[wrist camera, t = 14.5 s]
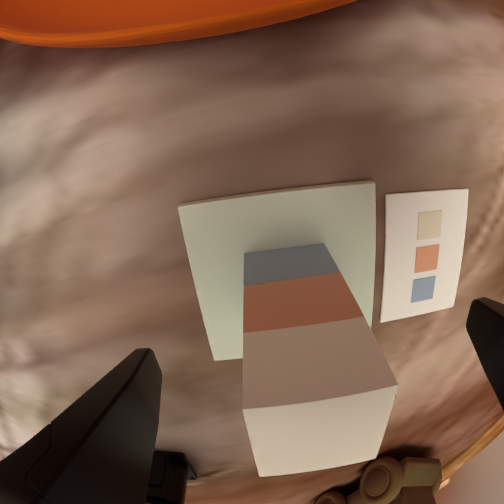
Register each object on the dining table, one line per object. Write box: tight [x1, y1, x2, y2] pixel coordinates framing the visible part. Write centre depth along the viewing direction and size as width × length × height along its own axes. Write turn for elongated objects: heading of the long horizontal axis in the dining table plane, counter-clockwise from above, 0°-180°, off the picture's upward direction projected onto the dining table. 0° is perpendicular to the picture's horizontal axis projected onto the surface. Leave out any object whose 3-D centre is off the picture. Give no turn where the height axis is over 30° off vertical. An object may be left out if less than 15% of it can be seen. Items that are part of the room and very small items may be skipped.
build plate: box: [178, 180, 376, 361], centre depth 21 cm, size 12×12×1 cm
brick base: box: [243, 243, 340, 285], centre depth 19 cm, size 5×5×4 cm
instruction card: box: [380, 188, 469, 323], centre depth 21 cm, size 10×7×1 cm
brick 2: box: [242, 317, 398, 477], centre depth 12 cm, size 5×5×4 cm
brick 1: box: [243, 272, 364, 333], centre depth 16 cm, size 5×5×4 cm
